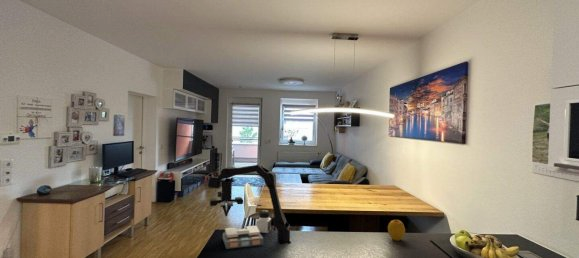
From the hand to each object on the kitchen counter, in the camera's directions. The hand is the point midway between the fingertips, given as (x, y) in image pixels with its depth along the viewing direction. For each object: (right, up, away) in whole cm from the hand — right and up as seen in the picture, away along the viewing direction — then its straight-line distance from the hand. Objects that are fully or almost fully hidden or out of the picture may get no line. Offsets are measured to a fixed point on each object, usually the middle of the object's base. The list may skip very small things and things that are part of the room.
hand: (226, 216), depth 176 cm
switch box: (+11, -12, -6) cm, 18 cm away
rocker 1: (+4, -9, -7) cm, 12 cm away
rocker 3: (+16, -9, -3) cm, 18 cm away
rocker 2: (+10, -9, -5) cm, 15 cm away
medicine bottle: (+21, -13, +12) cm, 27 cm away
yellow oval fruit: (+100, -15, +3) cm, 101 cm away
